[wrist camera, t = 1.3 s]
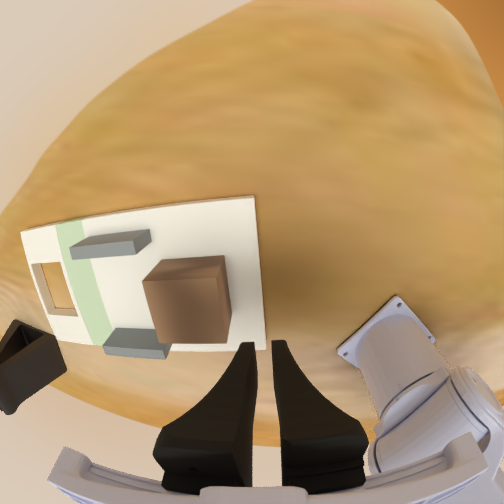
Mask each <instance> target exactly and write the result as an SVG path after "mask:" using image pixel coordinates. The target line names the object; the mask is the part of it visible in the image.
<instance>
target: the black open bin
mask: <svg viewBox="0 0 504 504" xmlns="http://www.w3.org/2000/svg"><path fill="white" fill-rule="evenodd" d="M66 371H67V369H66V367H65V364H64V361H63V359H62V356H61V353H60V350H59V347H58V345H57V342H56V338H55V336H54V335H52V334H49V333H47V332H44V331H42V330H39V329H37V328H33V327H32V326H30V325H27V324H25V323H23V322H21V321H18V320H16V319H15V320H13V321H12V323H11V325H10V326H9V328H8V330H7V331H6V333H5V335H4V336H3V338H2V340H1V341H0V410H1V411H4V413H5V414H6V415H11V414H13V413H15V411H16V410H17V408H18V406H19V405H20V404H21V403H22V402H23V401H25V400H26V399H27V398H29V397H30V396H32V395H33V394H35V393H36V392H38V391H39V390H40V389H42V388H43V387H45V386H46V385H48V384H49V383H50V382H52V381H53V380H55V379H56V378H58V377H59V376H61V375H62V374H63V373H65V372H66Z"/></svg>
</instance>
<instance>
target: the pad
mask: <svg viewBox="0 0 504 504" xmlns="http://www.w3.org/2000/svg"><path fill="white" fill-rule="evenodd" d="M88 217H89V216H88ZM85 218H87V217H82V218H77V219H72V220H66V221H63V222H61V223H58V224H56V225H55V227H56V231H57V236H58V240H59V244H60V248H61V252H62V256H63V260H64V263H65V267H66V270H67V274H68V277H69V280H70V283H71V286H72V290H73V293H74V296H75V298H76V301H77V304H78V307H79V310H80V312H81V315H82V318H83V320H84V323H85V325H86V328H87V330H88V332H89V335H90V337H91V340H92V342H93V344H94V345H100V346H102V345H103V344H104V343H105V341H106V340H107V339H108V337H109V336H110V335H111V333H112V332H113V329H112V327H111V324H110V321H109V318H108V316H107V313H106V310H105V307H104V304H103V301H102V298H101V295H100V292H99V288H98V285H97V282H96V278H95V275H94V271H93V268H92V264H91V260H90V259H79V260H72V258H71V254H70V250H69V247H71V246H73V245H74V244H76V243H78V242H80V241H82V240H83V239H85V235H84V230H83V226H82V221H81V220H82V219H85Z"/></svg>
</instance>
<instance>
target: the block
mask: <svg viewBox="0 0 504 504" xmlns="http://www.w3.org/2000/svg"><path fill="white" fill-rule="evenodd" d="M142 285H143V289H144V292H145V296H146V300H147V303H148V307H149V311H150V314H151V317H152V321H153V324H154V327H155V331H156V334H157V337H158V340H159V343H171V344H227V340H228V334H229V328H230V323H231V317H232V308H231V301H230V294H229V286H228V279H227V271H226V264H225V256H224V255H218V256H204V257H190V258H176V259H161V260H160V262H159V263H158V264H157V265H156V266H155V267H154V268H153V269H152V270H151V271H150V273H149V274H148V275H147V276H146V277H145V278H144V279H143V280H142Z"/></svg>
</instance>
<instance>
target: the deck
mask: <svg viewBox="0 0 504 504" xmlns="http://www.w3.org/2000/svg"><path fill="white" fill-rule="evenodd" d="M81 221H82V226H83V230H84V235H85V239H83V240H82V241H80V242H78V243H76V244H74V245H73V246H71V247H69V250H70V254H71V258H72V260H79V259H90V260H91V264H92V268H93V271H94V275H95V278H96V282H97V285H98V288H99V292H100V295H101V298H102V301H103V304H104V307H105V310H106V313H107V316H108V318H109V321H110V324H111V327H112V329H113V332H112V333H111V335H110V336H109V337H108V339H107V340H106V341H105V343H104V344H103V345H102V346H103V349H104V351H105V353H106V355H114V356H124V357H135V358H147V359H164V360H166V358H167V355H168V353H169V351H237V350H238V348H239V345H240V343H242V342H254V343H255V350H266V333H265V320H264V307H263V294H262V282H261V269H260V257H259V245H258V233H257V221H256V209H255V198H254V195H250V196H238V197H227V198H217V199H207V200H198V201H189V202H181V203H173V204H165V205H158V206H150V207H143V208H136V209H130V210H123V211H117V212H111V213H105V214H99V215H93V216H89V217H87V218H85V219H82V220H81ZM61 222H63V221H61ZM61 222H56V223H52V224H47V225H42V226H38V227H33V228H29V229H27V230H24V231H22V232H20V233H21V238H22V242H23V246H24V250H25V254H26V257H27V261H28V264H29V268H30V271H31V274H32V277H33V280H34V283H35V286H36V289H37V292H38V295H39V298H40V300H41V303H42V306H43V308H44V311H45V313H46V316H47V318H48V320H49V323H50V325H51V327H52V330H53V332H54V334H55V336H56V339H57V340H61V341H67V342H74V343H82V344H89V345H94V344H93V342H92V340H91V337H90V335H89V332H88V330H87V328H86V325H85V323H84V320H83V318H82V315H81V312H80V310H79V307H78V304H77V301H76V298H75V296H74V293H73V290H72V286H71V283H70V280H69V277H68V274H67V270H66V267H65V263H64V260H63V256H62V252H61V248H60V244H59V240H58V236H57V231H56V227H55V225H56V224H58V223H61ZM218 255H224V256H225V264H226V271H227V279H228V286H229V294H230V301H231V308H232V317H231V323H230V328H229V334H228V340H227V344H171V343H159V340H158V337H157V334H156V331H155V327H154V324H153V321H152V317H151V314H150V311H149V307H148V303H147V300H146V296H145V292H144V289H143V285H142V280H143V279H144V278H145V277H146V276H147V275H148V274H149V273H150V271H151V270H152V269H153V268H154V267H155V266H156V265H157V264H158V263H159V262H160V260H161V259H176V258H190V257H204V256H218ZM48 262H61V266H62V269H63V273H64V276H65V279H66V282H67V286H68V289H69V292H70V295H71V297H72V300H73V303H74V306H75V309H63V308H55V305H54V303H53V300H52V297H51V294H50V291H49V289H48V286H47V283H46V279H45V276H44V273H43V270H42V267H41V263H48Z"/></svg>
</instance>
